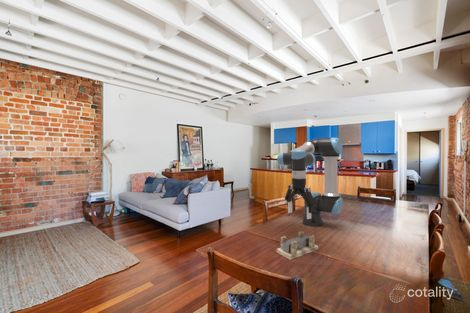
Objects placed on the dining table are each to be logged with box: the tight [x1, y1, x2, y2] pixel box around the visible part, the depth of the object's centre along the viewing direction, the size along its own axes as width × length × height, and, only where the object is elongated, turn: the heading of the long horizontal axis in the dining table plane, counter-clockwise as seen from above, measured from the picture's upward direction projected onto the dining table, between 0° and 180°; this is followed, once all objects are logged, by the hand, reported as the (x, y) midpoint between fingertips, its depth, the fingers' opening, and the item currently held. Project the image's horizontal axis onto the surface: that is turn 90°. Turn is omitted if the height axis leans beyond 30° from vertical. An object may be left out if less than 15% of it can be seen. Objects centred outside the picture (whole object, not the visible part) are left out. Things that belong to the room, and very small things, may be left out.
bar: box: [282, 234, 310, 253], centre depth 124 cm, size 18×4×4 cm, turn 123°
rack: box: [276, 230, 319, 261], centre depth 124 cm, size 22×10×8 cm, turn 122°
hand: (299, 215), depth 126 cm, fingers open, 13 cm apart
